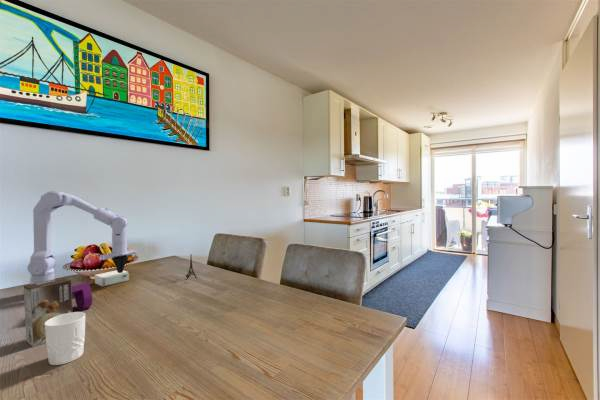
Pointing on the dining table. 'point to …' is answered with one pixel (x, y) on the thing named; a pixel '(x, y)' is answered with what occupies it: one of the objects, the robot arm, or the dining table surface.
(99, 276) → the cabinet
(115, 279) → the door
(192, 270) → the eiffel tower figurine
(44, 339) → the coffee box
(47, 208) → the robot arm
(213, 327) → the dining table surface
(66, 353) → the white cup
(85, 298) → the mounting bracket
